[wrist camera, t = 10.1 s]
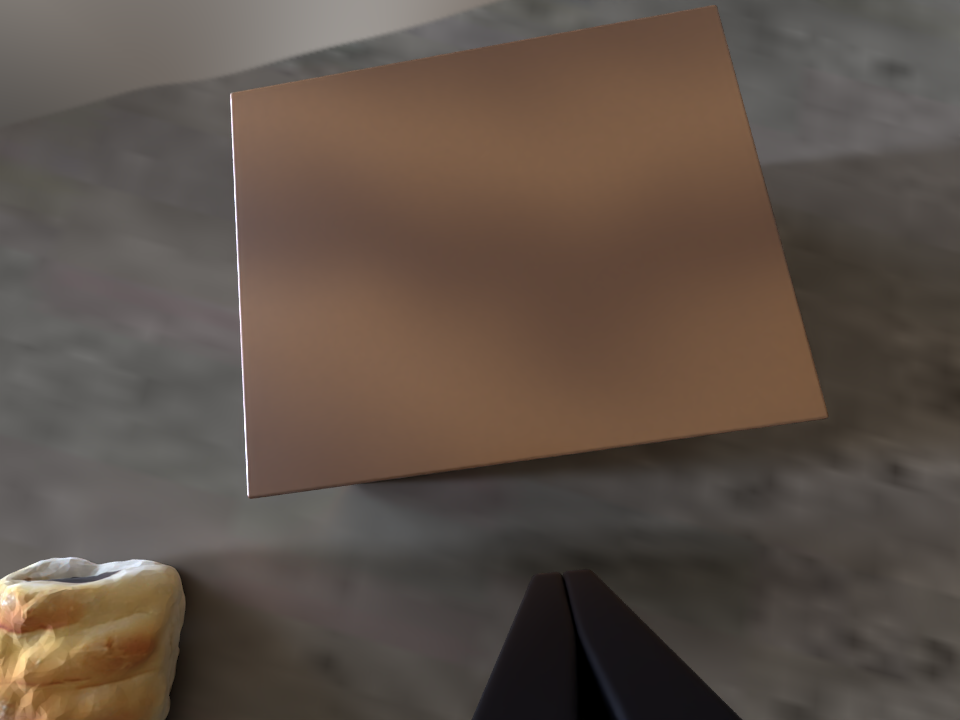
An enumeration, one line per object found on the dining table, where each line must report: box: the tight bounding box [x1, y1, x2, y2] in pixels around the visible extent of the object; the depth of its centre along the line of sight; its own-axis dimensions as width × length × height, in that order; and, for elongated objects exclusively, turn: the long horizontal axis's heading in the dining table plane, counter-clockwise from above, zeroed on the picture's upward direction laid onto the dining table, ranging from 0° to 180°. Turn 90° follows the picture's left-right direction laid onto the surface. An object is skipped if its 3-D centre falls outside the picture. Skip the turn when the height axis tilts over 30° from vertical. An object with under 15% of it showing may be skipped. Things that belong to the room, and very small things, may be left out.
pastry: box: [0, 557, 186, 720], centre depth 17 cm, size 9×7×4 cm
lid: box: [230, 5, 828, 499], centre depth 14 cm, size 11×14×1 cm
